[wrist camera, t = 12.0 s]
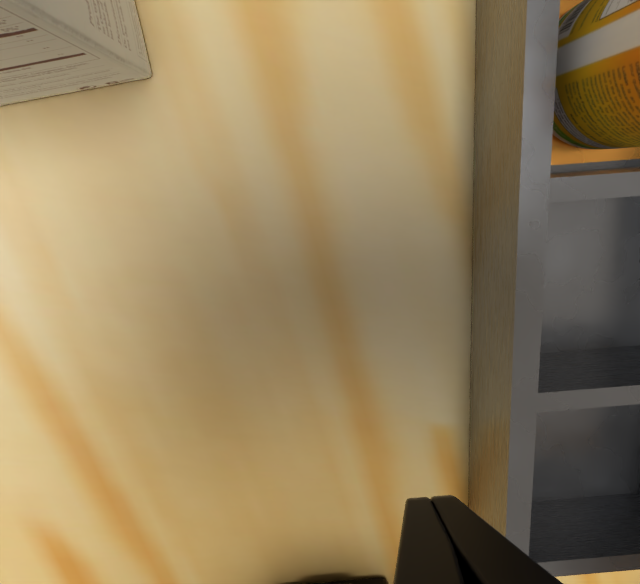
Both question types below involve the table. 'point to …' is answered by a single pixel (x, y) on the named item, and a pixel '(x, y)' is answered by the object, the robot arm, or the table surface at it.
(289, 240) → the table surface
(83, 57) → the supplement box
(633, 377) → the compartment organizer tray
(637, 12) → the supplement bottle
